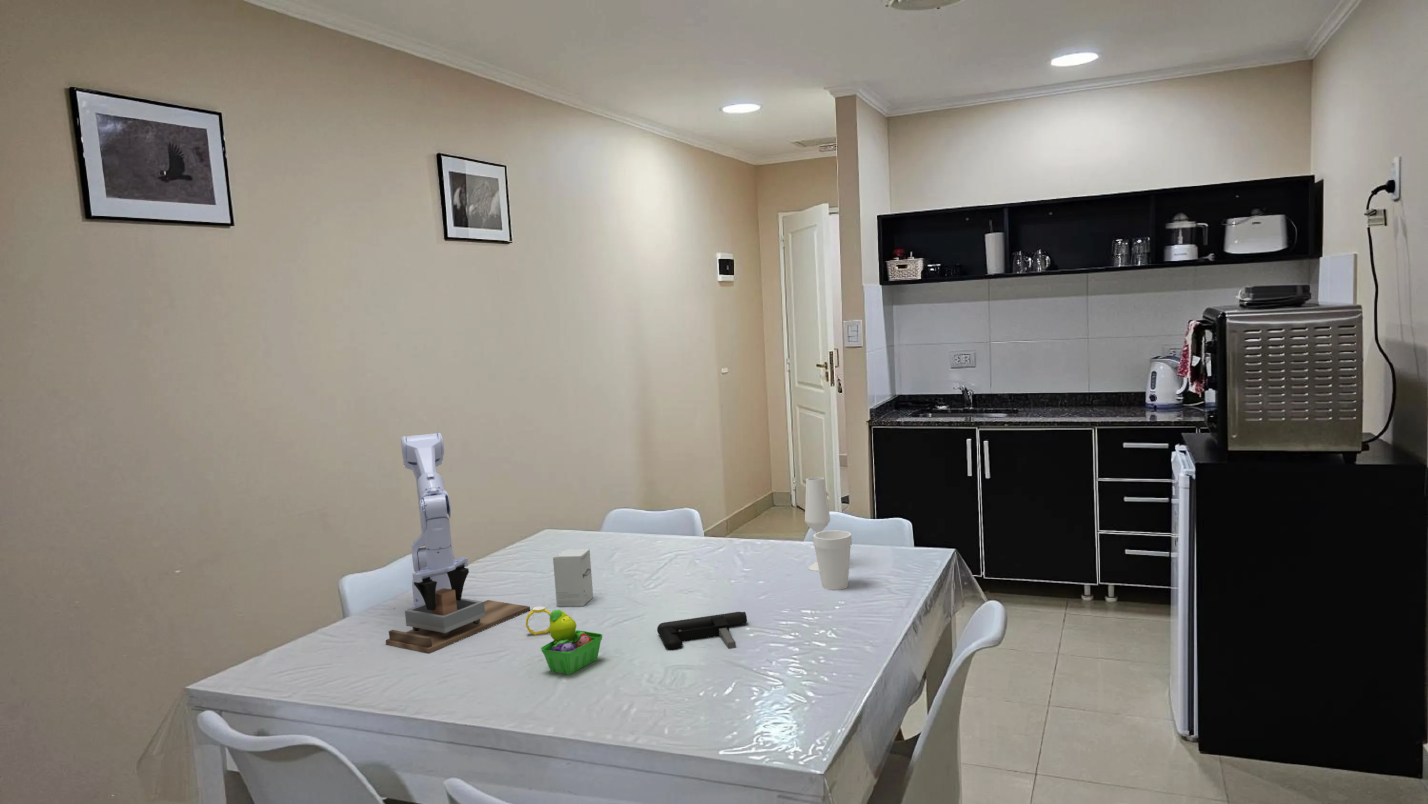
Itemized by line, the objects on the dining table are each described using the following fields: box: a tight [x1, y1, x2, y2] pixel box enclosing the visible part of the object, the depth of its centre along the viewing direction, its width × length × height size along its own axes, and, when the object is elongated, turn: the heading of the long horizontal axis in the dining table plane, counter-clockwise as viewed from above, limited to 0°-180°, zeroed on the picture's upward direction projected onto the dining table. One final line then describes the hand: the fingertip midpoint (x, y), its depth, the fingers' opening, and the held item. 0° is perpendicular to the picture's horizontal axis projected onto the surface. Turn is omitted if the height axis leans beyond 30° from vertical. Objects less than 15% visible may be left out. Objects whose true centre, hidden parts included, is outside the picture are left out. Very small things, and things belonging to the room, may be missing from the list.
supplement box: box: [552, 548, 594, 607], centre depth 232 cm, size 7×7×13 cm
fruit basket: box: [540, 609, 604, 675], centre depth 189 cm, size 11×9×11 cm
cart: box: [404, 597, 485, 637], centre depth 215 cm, size 13×12×5 cm
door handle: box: [656, 611, 748, 651], centre depth 200 cm, size 3×20×16 cm
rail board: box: [385, 599, 531, 654], centre depth 219 cm, size 14×31×3 cm, turn 147°
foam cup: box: [812, 529, 853, 591], centre depth 230 cm, size 10×9×13 cm
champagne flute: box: [804, 476, 831, 572], centre depth 247 cm, size 7×7×24 cm
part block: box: [431, 588, 457, 616], centre depth 215 cm, size 4×4×6 cm
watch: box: [525, 606, 551, 636], centre depth 210 cm, size 6×3×6 cm, turn 104°
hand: (444, 604), depth 215 cm, fingers open, 7 cm apart
